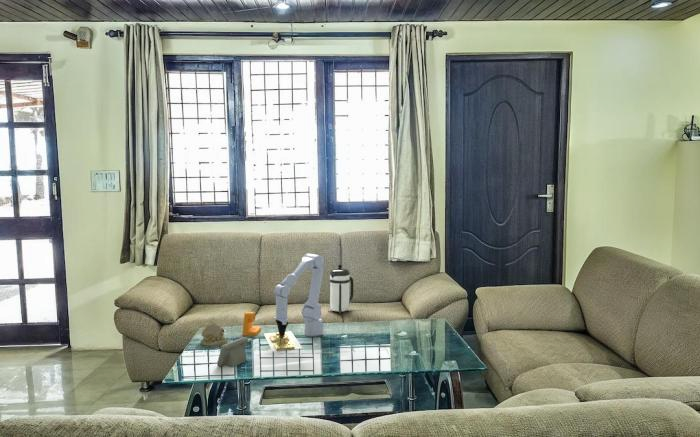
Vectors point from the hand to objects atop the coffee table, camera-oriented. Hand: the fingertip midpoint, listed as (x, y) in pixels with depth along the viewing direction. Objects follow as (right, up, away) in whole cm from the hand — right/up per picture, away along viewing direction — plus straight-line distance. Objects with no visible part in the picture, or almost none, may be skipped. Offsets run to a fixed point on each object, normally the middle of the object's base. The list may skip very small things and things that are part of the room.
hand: (281, 334), depth 262 cm
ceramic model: (-35, -5, +4) cm, 36 cm away
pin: (0, -2, 0) cm, 2 cm away
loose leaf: (-2, -4, +7) cm, 8 cm away
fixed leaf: (+1, -5, -3) cm, 6 cm away
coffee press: (+29, 0, +63) cm, 70 cm away
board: (0, -5, +5) cm, 7 cm away
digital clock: (-19, -8, -24) cm, 32 cm away
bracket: (-18, -4, +18) cm, 26 cm away
